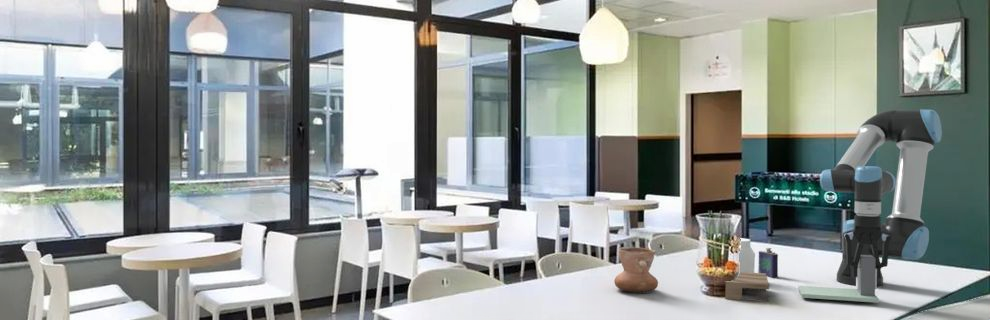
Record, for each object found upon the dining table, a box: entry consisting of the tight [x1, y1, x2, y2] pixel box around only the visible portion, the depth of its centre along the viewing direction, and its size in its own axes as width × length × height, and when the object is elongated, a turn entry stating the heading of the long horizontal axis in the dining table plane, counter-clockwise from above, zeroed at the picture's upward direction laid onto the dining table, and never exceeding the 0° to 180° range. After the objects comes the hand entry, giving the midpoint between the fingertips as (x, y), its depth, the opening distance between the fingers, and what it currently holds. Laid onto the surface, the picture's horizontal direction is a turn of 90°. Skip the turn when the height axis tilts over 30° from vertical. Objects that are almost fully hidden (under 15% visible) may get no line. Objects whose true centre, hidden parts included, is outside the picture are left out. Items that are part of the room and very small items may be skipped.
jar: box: [739, 237, 756, 273], centre depth 259 cm, size 12×10×15 cm
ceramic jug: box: [613, 246, 659, 294], centre depth 239 cm, size 18×14×14 cm
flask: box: [757, 247, 779, 279], centre depth 268 cm, size 9×3×11 cm, turn 21°
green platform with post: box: [797, 255, 880, 303], centre depth 229 cm, size 13×22×13 cm, turn 72°
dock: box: [724, 272, 770, 302], centre depth 235 cm, size 20×13×6 cm, turn 161°
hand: (866, 287), depth 226 cm, fingers closed on green platform with post, 4 cm apart
